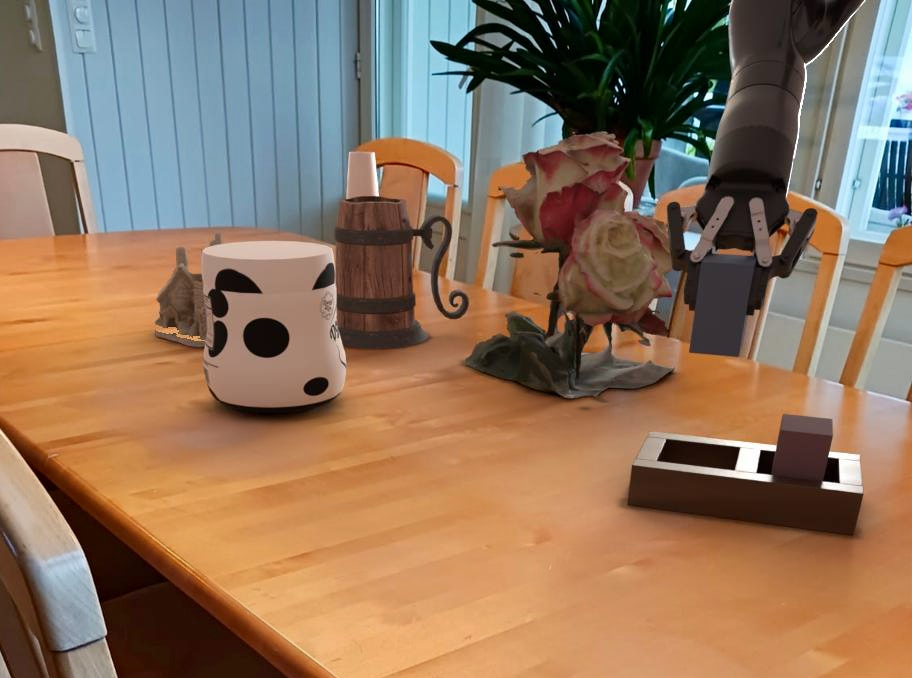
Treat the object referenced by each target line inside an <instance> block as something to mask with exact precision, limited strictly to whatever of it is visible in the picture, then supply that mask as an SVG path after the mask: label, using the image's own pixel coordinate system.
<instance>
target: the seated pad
mask: <svg viewBox="0 0 912 678" xmlns="http://www.w3.org/2000/svg"><path fill="white" fill-rule="evenodd" d="M833 420H834V419H833V418H826V417H817V416H809V415H798V414H789V413H783V414H782V416H781V421H780V426H779V431H778V436H777V442H776V451H775V456H774V461H773V466H772V472H771V475H774V476H782V477H790V478H799V479H807V480H815V481H823V479H824V474H825V470H826V465H827V461H828V456H829V452H831V447H832V442H833V438H834V421H833Z"/></svg>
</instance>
